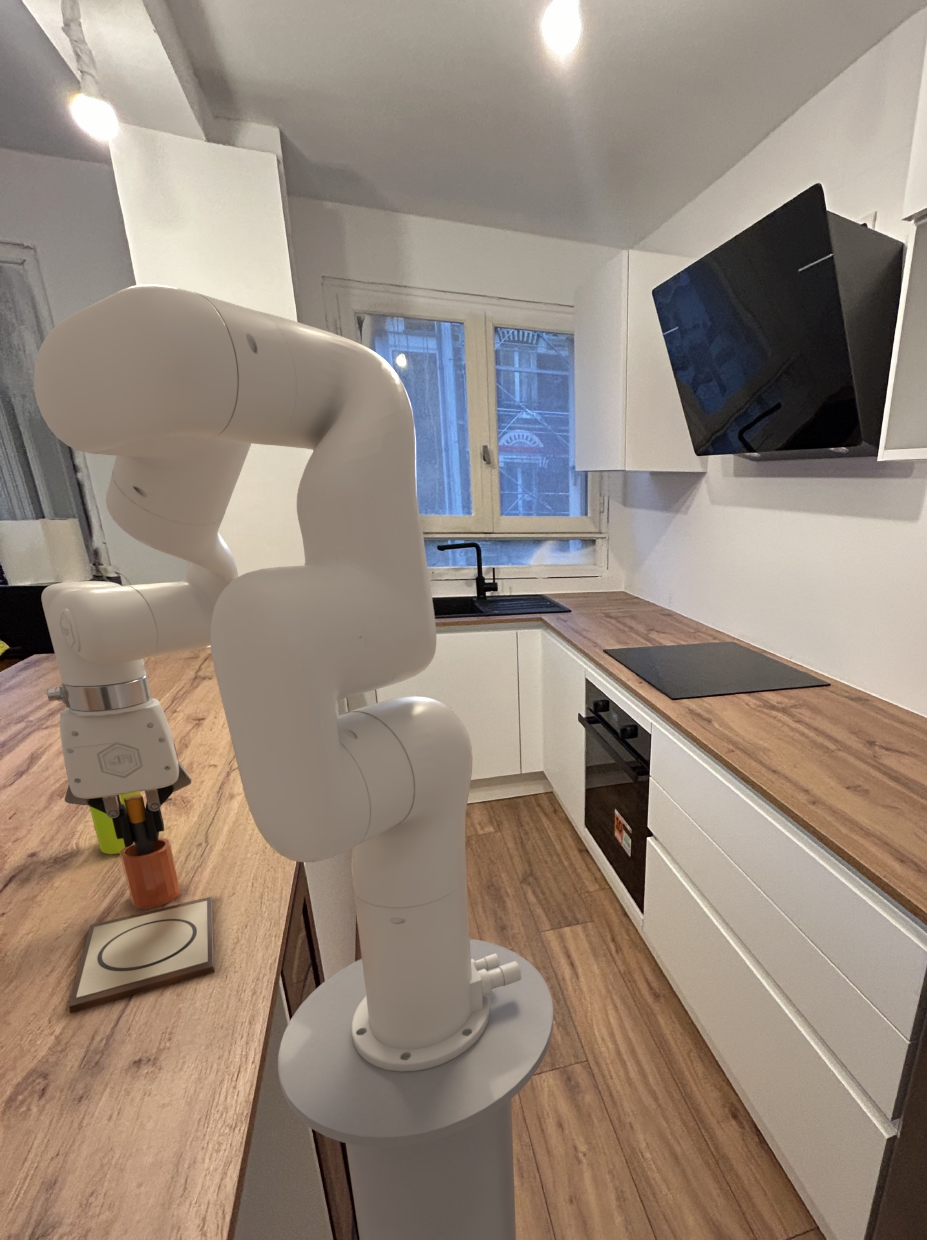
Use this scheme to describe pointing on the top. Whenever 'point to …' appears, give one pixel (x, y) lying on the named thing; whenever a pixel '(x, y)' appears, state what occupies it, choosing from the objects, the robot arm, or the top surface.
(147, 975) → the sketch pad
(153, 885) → the pen pot
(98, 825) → the soap dispenser
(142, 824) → the marker
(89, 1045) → the top surface
